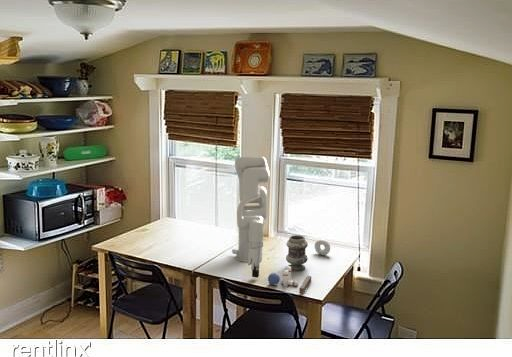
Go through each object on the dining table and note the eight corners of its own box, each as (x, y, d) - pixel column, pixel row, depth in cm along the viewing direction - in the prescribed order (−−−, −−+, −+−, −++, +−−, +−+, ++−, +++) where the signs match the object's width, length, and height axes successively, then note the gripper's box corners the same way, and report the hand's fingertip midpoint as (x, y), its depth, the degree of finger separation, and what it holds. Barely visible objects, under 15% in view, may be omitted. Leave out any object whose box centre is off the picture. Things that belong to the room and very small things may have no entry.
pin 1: (282, 287, 250) (282, 271, 248) (283, 285, 252) (284, 269, 251) (287, 287, 249) (287, 272, 248) (288, 285, 252) (289, 270, 250)
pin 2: (285, 283, 255) (285, 267, 253) (286, 281, 257) (287, 265, 255) (290, 283, 254) (290, 268, 252) (291, 281, 256) (291, 266, 255)
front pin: (280, 281, 252) (296, 283, 250) (282, 278, 254) (298, 280, 252) (281, 285, 253) (297, 287, 251) (282, 281, 255) (298, 284, 253)
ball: (277, 288, 249) (268, 287, 253) (283, 280, 253) (274, 279, 257) (273, 278, 247) (264, 277, 251) (279, 271, 251) (270, 270, 255)
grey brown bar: (299, 293, 243) (299, 287, 243) (307, 281, 258) (307, 275, 257) (303, 294, 242) (303, 288, 242) (311, 281, 257) (311, 276, 257)
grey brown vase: (293, 262, 283) (294, 232, 279) (311, 267, 276) (312, 236, 272) (281, 268, 274) (282, 237, 270) (299, 274, 267) (300, 242, 263)
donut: (330, 255, 294) (331, 239, 292) (328, 257, 291) (329, 241, 289) (315, 252, 299) (316, 236, 297) (313, 254, 296) (313, 238, 294)
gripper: (254, 238, 263) (253, 270, 267) (243, 247, 249) (243, 281, 253) (267, 239, 261) (266, 272, 264) (257, 249, 247) (257, 283, 251)
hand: (255, 276), depth 259 cm, fingers closed
